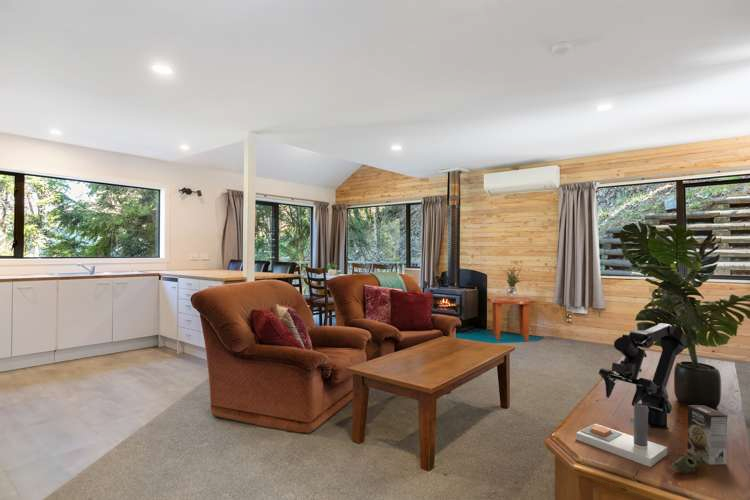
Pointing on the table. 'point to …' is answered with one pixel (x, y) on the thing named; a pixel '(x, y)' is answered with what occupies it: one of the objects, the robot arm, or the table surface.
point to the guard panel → (623, 446)
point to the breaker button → (601, 431)
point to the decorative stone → (687, 464)
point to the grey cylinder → (640, 426)
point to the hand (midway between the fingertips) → (619, 401)
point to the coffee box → (707, 434)
